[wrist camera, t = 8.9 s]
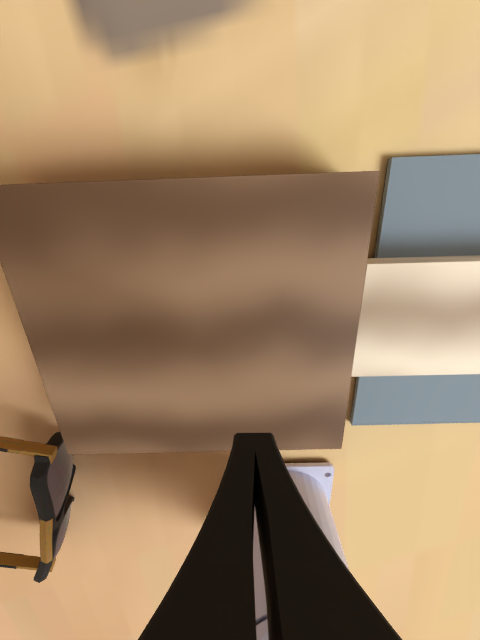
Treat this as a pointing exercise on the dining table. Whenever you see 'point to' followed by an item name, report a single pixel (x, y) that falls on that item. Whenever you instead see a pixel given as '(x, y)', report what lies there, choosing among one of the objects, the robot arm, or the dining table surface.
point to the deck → (192, 305)
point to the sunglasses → (45, 500)
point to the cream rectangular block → (419, 317)
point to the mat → (425, 241)
